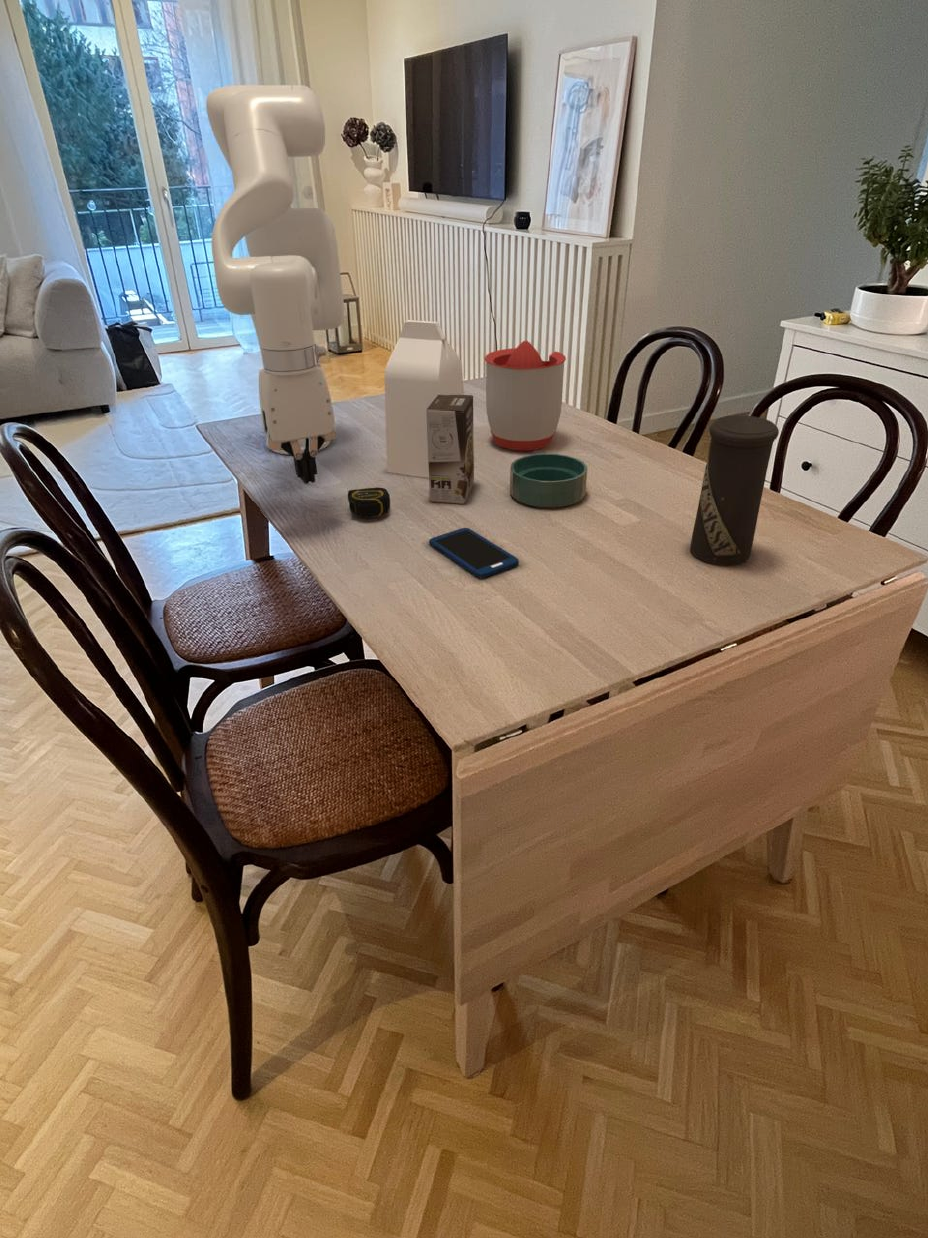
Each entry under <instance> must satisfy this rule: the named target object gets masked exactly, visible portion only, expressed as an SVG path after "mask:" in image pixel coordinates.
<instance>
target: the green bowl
mask: <svg viewBox="0 0 928 1238" xmlns="http://www.w3.org/2000/svg"><path fill="white" fill-rule="evenodd" d="M587 478H588V465H586V463H585V462H584V461H583V460H580V459H578V458H577V457H574V456H570V455H567V454H560V453H535V454H534V453H533V454H530V455H525V456H521V457H518V458H517V459H515V460H514V461H513V462H512V463H511V464H510V472H509V493H510V495H511V497H512V498H513V499H515V500H516V501H518V502H520V503H523V504H526V505H528V506H533V507H539V508H559V507H560V508H561V507H565V506H570V505H574V504H577V503H578V502H580V501H582V500H583V498H585V496H586V492H587Z"/></svg>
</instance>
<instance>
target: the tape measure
mask: <svg viewBox="0 0 928 1238" xmlns="http://www.w3.org/2000/svg"><path fill="white" fill-rule="evenodd" d="M390 496H391V495H390V493H389V490H387V489H386V488H384V487H366V488H357V489H350V490H347V501H348V503H349V505H348V507H349V509H350V511H351V513H352V514H353V515H354V516H356V517H358V518H364V519H366V518H367V519H368V518H369V519H370V518H377V517H378V518H379V517H382V516H384V515H386V514H388V512H389V511H390V509H391V497H390Z"/></svg>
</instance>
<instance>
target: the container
mask: <svg viewBox="0 0 928 1238" xmlns="http://www.w3.org/2000/svg"><path fill="white" fill-rule="evenodd" d="M708 430H709V434H710V438H711V439H710V442H709V449H708V452H707V458H706V465H705V469H704V474H703V479H702V483H701V489H700V495H699V500H698V505H697V510H696V515H695V520H694V525H693V529H692V535H691V541H690V547H689V550H690V553H691V554H692V556H694V557H695V558H697V559H698V560H700V561H703V562H705V563H709V564H713V565H718V566H737V565H742V564H744V563H746V562H747V561H749V559H750V557H751V553H752V549H753V545H754V539H755V534H756V528H757V524H758V518H759V512H760V509H761V508H760V506H761V502H762V499H763V497H762V496H763V493H764V492H763V491H764V487H765V483H766V477H767V472H768V468H769V462H770V459H771V454H772V448H773V444H774V442H775V440H776V439H777V438H778V436H779V434H780V433H779V432H780V430H779V428H778V426H777V425H776V424H775V423H774V422H773V421H771V420H769V419H767V418H764V417H763V418H762V417H760V416H759V417H758V416H754V415H753V416H752V415H742V414H740V415H739V414H737V415H736V414H735V415H733V414H732V415H726V416H722V417H719V418H717V419H716V420H714V421H713V422H712V423H711V424H710V426H709V429H708Z"/></svg>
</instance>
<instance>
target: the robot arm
mask: <svg viewBox="0 0 928 1238" xmlns="http://www.w3.org/2000/svg"><path fill="white" fill-rule="evenodd" d="M205 106H206V108H205V109H206V114H207V119H208V122H209V125H210V128H211V131H212V133H213V136H214V138H215V141H216V143H217V145H218V147H219V149H220V151H221V153H222V155H223V157H224V159H225V161H226V162H227V164H228V166H229V169H230V171H231V175H232V183H233V187H234V191H233V193H232V194H231V195H230V197H228V199H227V200H226V201H225V203H224V204H223V205H222V207H221V209H220V210H219V213H218V215H217V217H216V219H215V221H214V224H213V228H212V232H211V255H212V260H213V268H214V276H215V277H214V278H215V282H216V283H215V284H216V289H217V293H218V297H219V299H220V302H221V304H222V305H223V307H224V308H225V309H226V311H228V312H229V313H231V314H232V315H233V314H234V315H237V316H248V315H249V316H250V317H251V320H252V323H253V326H254V329H255V333H256V337H257V341H258V345H259V350H260V356H261V361H262V366H263V368H262V369H260V370H259V371H258V393H259V395H258V396H259V397H258V398H259V407H260V417H261V425H262V429H263V431H264V434H266V439H265V446H266V447H267V449H269V450H270V451H272V452H274V453H277V454H280V455H290V456H292V457H293V464H294V471H295V475H296V477H297V478H298V479H300V481H301V482H302V483H304V485H308V484H310V483H311V484H313V483H316V475H318V468H317V467H318V466H317V459H316V457H317V456H318V454H319V453H318V452H319V451H321V450H324V449H326V448H327V447H328V446H329V445H330V444H331V442H332V440H334V439H336V437H337V432H336V430H335V421H336V420H335V414H334V407H333V403H332V398H331V393H330V390H329V386H328V382H327V378H326V375H325V371H324V369H323V366H322V365H321V364H320V363H319V362H320V361H319V359H320V358H321V357H325V356H326V353H327V352H326V347H325V346H323V345H321V346H319V345H317V344H316V343H315V342H316V341H315V334H314V331H326V330H327V331H328V330H334V329H337V328H339V327H340V326H341V325H342V324H343V322H344V318H345V303H344V302H345V301H344V293H343V284H342V277H341V268H340V267H341V266H340V258H339V251H338V250H339V249H338V243H337V242H338V241H337V236H336V231H335V227H334V223H333V221H332V218H331V216H330V215H329V213H328V212H326V211H325V210H323V209H321V208H317V207H292V205H293V202H294V197H295V191H294V184H293V180H292V172H291V168H290V160H289V158H301V157H302V158H303V157H306V158H307V157H317V156H320V155H321V154H323V151H324V148H325V145H326V126H325V120H324V115H323V110H322V108H321V104H320V102H319V100H318V97H317V95H316V94H315V92H314V91H313V89H311V88H310V87H309V86H307V85H303V84H296V85H295V84H233V85H232V84H231V85H225V86H221V87H220V86H219V87H217V88H215V89H213V90H211V91H210V92H209V93H208V95H206V101H205ZM243 238H245V243H246V249H247V252H248V255H249V256H243V257H242V256H241V257H233V252H234V249H235V247H237V246H236V245H237V244H238V243H239V242H240V241H241V240H242V239H243Z"/></svg>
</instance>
